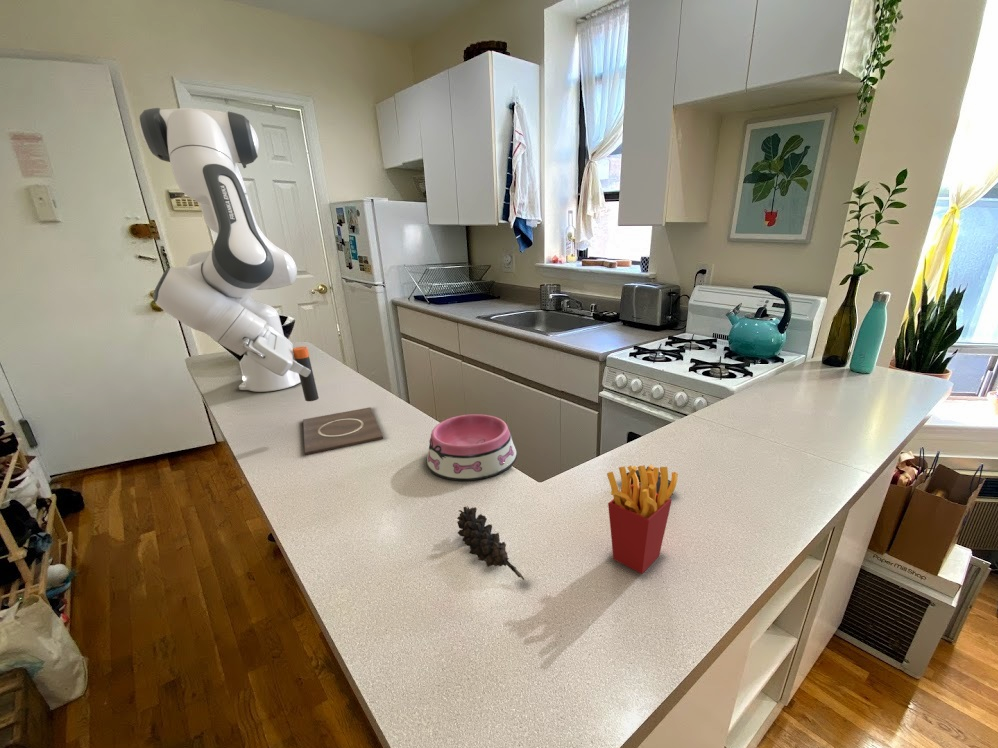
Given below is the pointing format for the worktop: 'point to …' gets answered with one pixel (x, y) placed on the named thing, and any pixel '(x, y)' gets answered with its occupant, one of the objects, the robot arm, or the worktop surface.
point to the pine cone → (483, 539)
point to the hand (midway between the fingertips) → (308, 371)
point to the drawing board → (340, 430)
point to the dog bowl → (470, 448)
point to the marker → (308, 382)
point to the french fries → (639, 515)
